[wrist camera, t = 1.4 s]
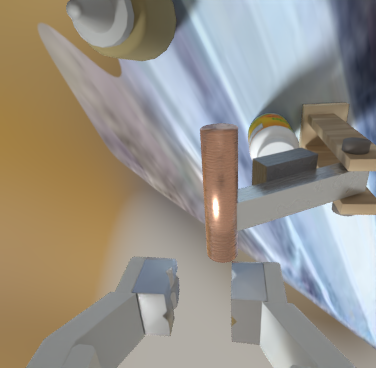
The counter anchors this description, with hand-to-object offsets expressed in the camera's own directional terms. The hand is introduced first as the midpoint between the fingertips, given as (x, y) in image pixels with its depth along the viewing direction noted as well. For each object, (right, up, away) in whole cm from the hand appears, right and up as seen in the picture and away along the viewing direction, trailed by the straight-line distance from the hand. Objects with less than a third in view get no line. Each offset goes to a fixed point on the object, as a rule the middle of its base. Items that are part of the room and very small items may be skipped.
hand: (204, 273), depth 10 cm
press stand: (+16, +10, +28) cm, 33 cm away
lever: (+6, +5, +15) cm, 17 cm away
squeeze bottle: (-5, +22, +25) cm, 34 cm away
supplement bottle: (+10, +10, +29) cm, 32 cm away
